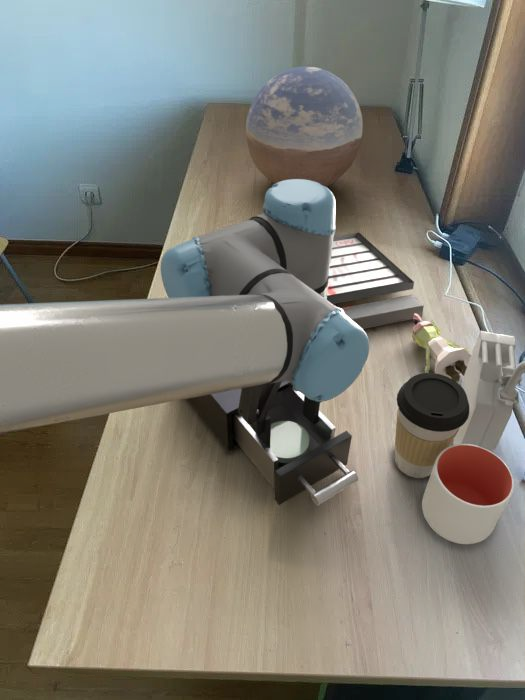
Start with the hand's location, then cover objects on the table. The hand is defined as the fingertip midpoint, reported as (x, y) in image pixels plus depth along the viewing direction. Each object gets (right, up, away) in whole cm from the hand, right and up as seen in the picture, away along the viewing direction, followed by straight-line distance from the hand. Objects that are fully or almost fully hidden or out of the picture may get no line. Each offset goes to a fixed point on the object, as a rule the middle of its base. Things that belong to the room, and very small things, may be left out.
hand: (286, 430), depth 83 cm
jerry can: (+29, -3, +6) cm, 30 cm away
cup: (+24, -12, -3) cm, 27 cm away
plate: (0, -3, +3) cm, 4 cm away
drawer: (+1, -5, +2) cm, 5 cm away
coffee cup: (+20, -5, +4) cm, 21 cm away
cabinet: (-8, +3, +13) cm, 15 cm away
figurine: (+29, +10, +21) cm, 37 cm away
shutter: (+9, +25, +37) cm, 46 cm away
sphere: (+7, +57, +72) cm, 92 cm away
